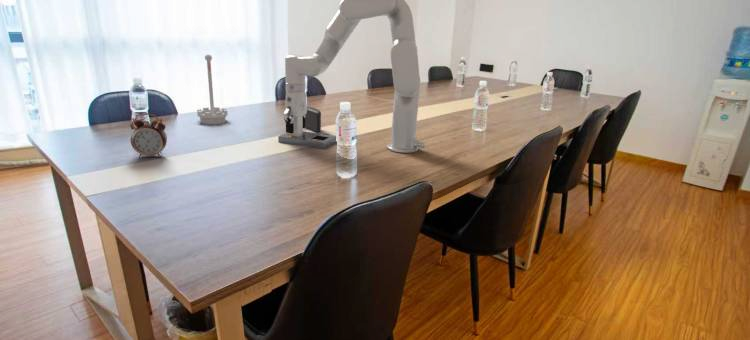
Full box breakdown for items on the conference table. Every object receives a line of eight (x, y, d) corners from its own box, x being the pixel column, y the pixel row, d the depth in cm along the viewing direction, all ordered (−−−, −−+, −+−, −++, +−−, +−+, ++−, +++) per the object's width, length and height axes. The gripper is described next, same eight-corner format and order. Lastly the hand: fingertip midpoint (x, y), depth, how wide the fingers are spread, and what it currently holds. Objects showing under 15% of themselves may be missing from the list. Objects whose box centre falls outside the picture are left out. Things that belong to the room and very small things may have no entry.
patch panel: (336, 141, 177) (336, 135, 176) (324, 149, 166) (324, 142, 165) (293, 135, 183) (293, 129, 182) (278, 142, 172) (278, 135, 171)
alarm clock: (132, 159, 144) (125, 115, 139) (135, 154, 148) (129, 112, 143) (167, 158, 147) (162, 114, 142) (170, 153, 151) (165, 111, 146)
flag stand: (196, 118, 202) (191, 52, 192) (226, 117, 207) (221, 53, 197) (199, 125, 191) (193, 55, 181) (229, 123, 196) (225, 56, 186)
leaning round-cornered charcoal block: (326, 132, 190) (326, 111, 187) (317, 133, 188) (317, 112, 184) (307, 124, 202) (307, 104, 199) (298, 125, 199) (298, 105, 196)
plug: (302, 139, 177) (302, 112, 173) (297, 141, 173) (297, 114, 170) (292, 137, 178) (291, 111, 175) (287, 140, 175) (286, 112, 171)
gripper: (292, 91, 160) (293, 136, 166) (314, 85, 175) (313, 126, 181) (275, 89, 162) (276, 133, 168) (297, 84, 178) (297, 124, 183)
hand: (295, 130), depth 174 cm, fingers open, 9 cm apart
